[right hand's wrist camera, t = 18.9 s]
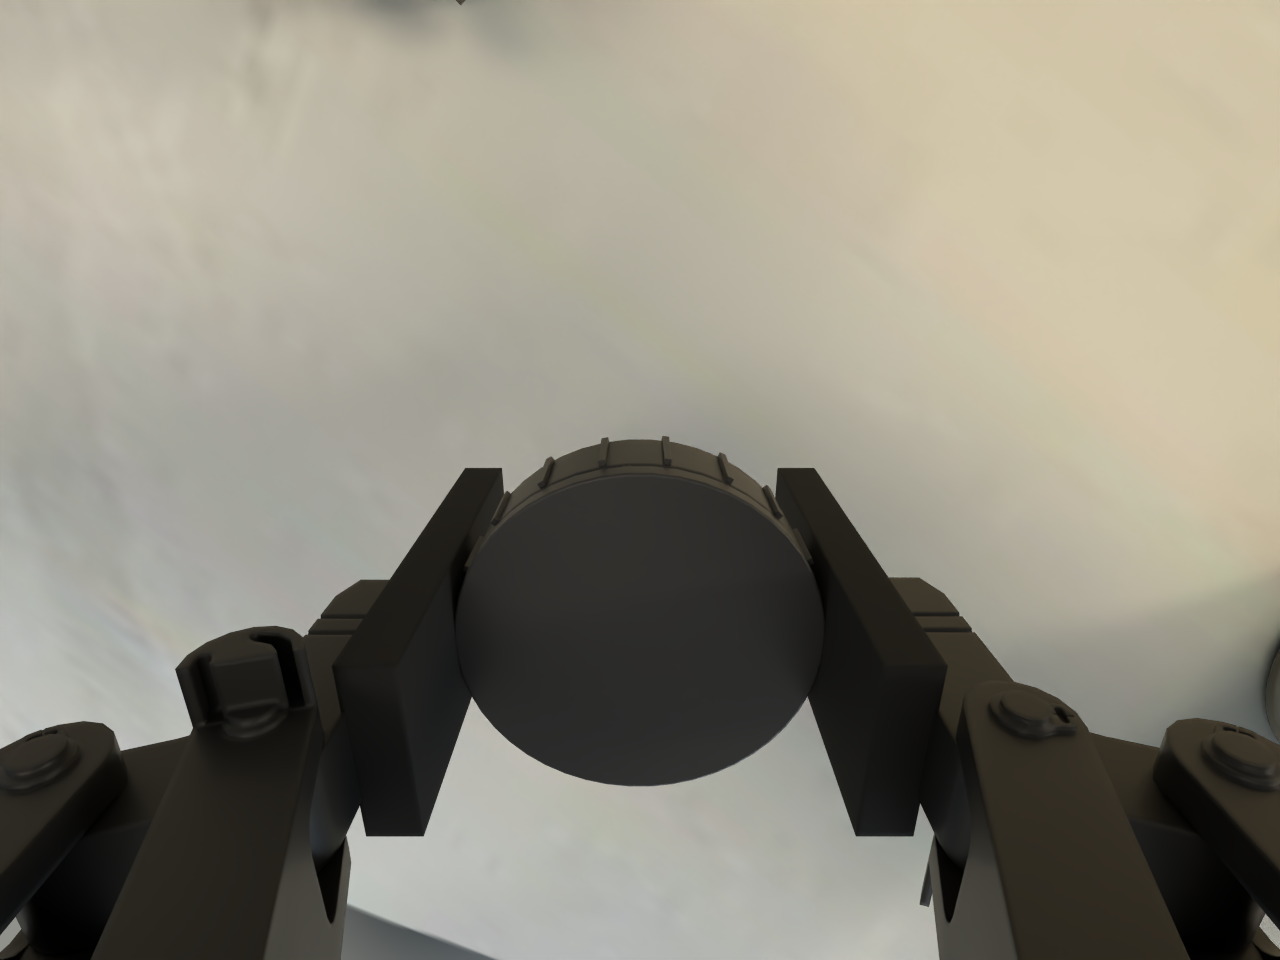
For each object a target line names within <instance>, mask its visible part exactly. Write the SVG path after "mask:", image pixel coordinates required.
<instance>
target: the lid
mask: <svg viewBox="0 0 1280 960" xmlns="http://www.w3.org/2000/svg"><path fill="white" fill-rule="evenodd" d="M812 564H814V562H813V560H812V557H811V555H810V553H809V551H808V549H807V547H806V545H805V543H804V541H803V539H802V537H801V535H800V533H799V531H798V529H797V528H796V529H794V530H792V528H791V526H790V524H789V523H788V521H787V519H786V517H785V515H784V513H783V512H782V510H781V509H780V508H779V506H778V504H777V501H776V499H775V497H774V495H773V493H772V491H771V489H770V488H769V487H768V486H767V485H766V486H765V487H763V488H762V487H761V486H760V485H759V484H758V483H757V482H756V481H755V480H754V479H752V478H751V477H750V476H748V475H747V474H746V473H744V472H743V471H742V470H740V469H739V468H738V467H736V466H734V465H732V464H730V463H729V462H728V461H727V458H726V455H724V454H722V453H719V455H718V456H715V455H713V454H710V453H707V452H705V451H702V450H700V449H697V448H694V447H690V446H686V445H682V444H678V443H674V442H669V437H666V436H662V441H658V440H622V441H614V442H609V439H608V437H607V438H602V440H601V444H597V445H594V446H590V447H586V448H582V449H579V450H577V451H574V452H572V453H569V454H567V455H564V456H562V457H560V458H558V459H556V460H554V459H553V458H552V457H549V458H548V459H546V461H545V464H544V467H542V468H541V469H539V470H538V471H537V472H535V473H534V474H533V475H531V476H530V477H529V478H527V479H526V480H525V481H523V482H522V483H521V484H520V485H519V486H518V487H517V488H516V489H515V490H514V491H513V492H512V493H509V492H508V491H506V492H505V494H504V495H503V497H502V499H501V501H500V503H499V505H498V507H497V509H496V511H495V514H494V516H493V518H492V520H491V522H490V525H489V527H488V529H487V531H486V533H485V535H484V537H483V536H479V537H478V539H477V541H476V543H475V545H474V547H473V549H472V552H471V554H470V556H469V558H468V560H467V562H466V564H465V566H464V568H463V572H466V575H465V578H464V581H463V583H462V586H461V589H460V592H459V595H458V600H457V606H456V611H455V637H456V645H457V654H458V661H459V665H460V669H461V673H462V676H463V678H464V681H465V683H466V685H467V687H468V690H469V692H470V694H471V696H472V697H473V699H474V700H475V702H476V704H477V705H478V707H479V708H480V710H481V712H482V713H483V714H484V715H485V716H486V718H487V719H488V720H489V721H490V723H491V724H492V725H493V726H494V727H495V728H496V729H497V730H498V731H499V732H500V733H501V734H502V735H503V736H504V737H505V738H506V739H507V740H509V741H510V742H511V743H512V744H514V745H515V746H516V747H518V748H519V749H520V750H522V751H523V752H525V753H526V754H527V755H529V756H531V757H533V758H534V759H536V760H538V761H540V762H541V763H543V764H545V765H547V766H549V767H552V768H554V769H556V770H559V771H561V772H563V773H566V774H569V775H572V776H575V777H579V778H582V779H585V780H590V781H595V782H599V783H604V784H612V785H622V786H658V785H668V784H675V783H680V782H685V781H690V780H694V779H698V778H701V777H704V776H707V775H710V774H714V773H716V772H718V771H721V770H723V769H725V768H728V767H730V766H732V765H735V764H736V763H738V762H740V761H742V760H743V759H745V758H747V757H749V756H750V755H752V754H754V753H755V752H756V751H758V750H759V749H760V748H762V747H763V746H764V745H766V744H767V743H769V742H770V741H771V740H772V739H773V738H774V737H775V736H776V735H777V734H778V733H779V732H781V731H782V730H783V729H784V728H785V727H786V725H787V724H788V723H789V722H790V721H791V719H792V718H793V717H794V716H795V715H796V713H797V712H798V711H799V709H800V708H801V706H802V704H803V703H804V701H805V700H806V698H807V696H808V695H809V693H810V690H811V688H812V686H813V684H814V681H815V679H816V677H817V674H818V671H819V667H820V663H821V658H822V650H823V641H824V632H825V614H824V609H823V603H822V598H821V593H820V590H819V588H818V585H817V582H816V580H815V577H814V574H813V572H812V570H811V567H810V565H812Z"/></svg>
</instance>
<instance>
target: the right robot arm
mask: <svg viewBox="0 0 1280 960" xmlns="http://www.w3.org/2000/svg"><path fill="white" fill-rule="evenodd" d="M503 495H504V489H503V476H502V468H465V469H464V471H463V472H462V474H461V475H460V477H459V478H458V480H457V481H456V483H455V484H454V486H453V487H452V489H451V490H450V491H449V493H448V494H447V496H446V497H445V499H444V500H443V502H442V503H441V505H440V506H439V508H438V509H437V511H436V512H435V514H434V515H433V517H432V518H431V520H430V521H429V523H428V524H427V525H426V527H425V528H424V530H423V531H422V533H421V534H420V536H419V537H418V539H417V540H416V542H415V543H414V545H413V546H412V548H411V549H410V551H409V552H408V554H407V555H406V556H405V558H404V559H403V561H402V562H401V564H400V565H399V567H398V568H397V570H396V571H395V573H394V574H393V576H392V577H391V579H390V580H360V581H358V582H357V583H355V584H354V585H352V586H351V587H349V588H348V589H346V590H344V591H343V592H341V593H340V594H338V595H337V596H335V598H334V599H333V600H332V602H331V603H330V604H329V605H328V607H327V608H326V609H325V610H324V612H323V613H322V614H321V619H317V621H316V622H315V623H314V624H313V626H312V627H311V628H310V629H309V631H308V632H309V633H308V635H305V636H304V637H302V636H301V635H299V634H298V633H297V632H295V631H294V630H293V629H288V628H283V627H278V626H266V627H252V628H248V629H244V630H240V631H235V632H231V633H228V634H226V635H223V636H221V637H219V638H216V639H214V640H211V641H209V642H207V643H205V644H204V645H202V646H201V647H199V648H197V649H196V650H194V651H193V652H191V653H190V654H188V655H187V656H186V657H185V658H184V660H183V661H182V662H181V663H180V664H179V665H178V667H177V668H176V669H175V670H176V674H177V677H178V680H179V683H180V687H181V690H182V693H183V696H184V700H185V703H186V706H187V709H188V713H189V716H190V719H191V722H192V726H193V730H192V732H191V734H190V735H189V736H186V737H182V738H179V739H174V740H170V741H165V742H160V743H156V744H151V745H146V746H142V747H137V748H132V749H128V750H123V751H120V748H119V745H118V742H117V740H116V737H115V734H114V731H112V730H111V729H110V728H108V727H107V726H106V725H104V724H103V723H94V722H86V721H82V722H75V723H68V724H62V725H57V726H53V727H49V728H45V730H39V731H37V732H34V733H31V734H29V735H27V736H25V737H23V738H21V739H19V740H17V741H15V742H13V743H11V744H9V745H7V746H5V747H3V748H1V749H0V935H1V934H2V932H3V931H4V930H5V929H6V928H7V926H8V925H9V924H10V923H11V922H12V920H13V919H14V918H15V917H16V918H17V920H18V923H19V925H20V927H21V930H20V932H19V933H18V934H17V935H16V937H15V938H14V939H13V940H12V941H11V943H10V944H9V945H8V946H7V947H6V948H4V949H3V950H2V951H1V952H0V960H341V951H342V942H343V933H344V923H345V914H346V905H347V896H348V887H349V878H350V869H351V858H350V852H349V846H348V841H347V837H346V834H347V831H348V829H349V827H350V825H351V823H352V821H353V819H354V817H355V814H356V812H357V810H358V808H359V806H360V808H361V813H362V818H363V823H364V828H365V832H366V836H424V834H425V831H426V828H427V825H428V822H429V819H430V816H431V813H432V810H433V808H434V805H435V802H436V799H437V796H438V793H439V790H440V787H441V784H442V781H443V779H444V776H445V773H446V770H447V767H448V764H449V761H450V758H451V755H452V753H453V750H454V747H455V744H456V741H457V738H458V735H459V732H460V729H461V726H462V724H463V721H464V718H465V715H466V712H467V709H468V706H469V703H470V700H471V697H472V696H471V694H470V692H469V690H468V687H467V685H466V683H465V681H464V678H463V676H462V673H461V669H460V665H459V661H458V654H457V645H456V637H455V611H456V606H457V600H458V595H459V592H460V589H461V586H462V583H463V581H464V578H465V575H466V572H463V568H464V566H465V564H466V562H467V560H468V558H469V556H470V554H471V552H472V549H473V547H474V545H475V543H476V541H477V539H478V537H479V536H483V537H484V535H485V533H486V531H487V529H488V527H489V525H490V522H491V520H492V518H493V516H494V514H495V511H496V509H497V507H498V505H499V503H500V501H501V499H502V497H503ZM775 499H776V501H777V504H778V506H779V508H780V509H781V510H782V512H783V513H784V515H785V517H786V519H787V521H788V523H789V524H790V526H791V528H792V530H794V529H796V528H797V529H798V531H799V533H800V535H801V537H802V539H803V541H804V543H805V545H806V547H807V549H808V551H809V553H810V555H811V557H812V560H813V562H814V564H812V565H810V567H811V570H812V572H813V574H814V577H815V580H816V582H817V585H818V588H819V590H820V593H821V598H822V603H823V609H824V614H825V632H824V641H823V650H822V658H821V663H820V667H819V671H818V674H817V677H816V679H815V681H814V684H813V686H812V688H811V690H810V693H809V695H808V699H809V702H810V704H811V707H812V710H813V713H814V716H815V719H816V722H817V725H818V728H819V731H820V733H821V736H822V739H823V742H824V745H825V748H826V751H827V754H828V757H829V760H830V762H831V765H832V768H833V771H834V774H835V777H836V780H837V783H838V786H839V788H840V791H841V794H842V797H843V800H844V803H845V806H846V809H847V812H848V815H849V817H850V820H851V823H852V826H853V829H854V832H855V835H856V836H913V835H914V830H915V825H916V820H917V816H918V811H919V806H920V803H921V806H922V808H923V810H924V812H925V814H926V816H927V818H928V820H929V822H930V825H931V827H932V829H933V831H934V837H933V841H932V846H931V850H930V855H929V860H928V864H927V869H926V873H925V878H924V883H923V887H922V893H921V899H920V905H923V906H927V907H929V904H930V900H931V896H932V894H933V903H934V912H935V922H936V931H937V940H938V949H939V958H940V960H1280V949H1279V948H1278V947H1277V946H1276V945H1275V944H1274V943H1273V942H1272V941H1271V940H1270V939H1269V938H1268V937H1267V935H1266V934H1265V933H1264V932H1263V930H1262V929H1261V928H1260V927H1259V925H1260V923H1261V921H1262V919H1263V917H1264V915H1265V913H1266V914H1267V916H1268V917H1269V918H1270V919H1271V920H1272V922H1273V923H1274V924H1275V925H1276V926H1277V928H1278V929H1279V930H1280V745H1278V744H1276V743H1274V742H1272V741H1270V740H1268V739H1266V738H1264V737H1262V736H1260V735H1258V734H1256V733H1255V732H1253V731H1250V730H1247V729H1245V728H1242V727H1236V725H1232V724H1228V723H1224V722H1220V721H1213V720H1206V719H1199V718H1194V719H1185V720H1178V721H1176V722H1175V723H1173V724H1172V725H1171V726H1169V727H1168V728H1167V730H1166V732H1165V735H1164V738H1163V741H1162V743H1161V746H1160V748H1157V747H1152V746H1147V745H1143V744H1138V743H1133V742H1129V741H1124V740H1119V739H1115V738H1110V737H1105V736H1101V735H1098V734H1094V733H1090V732H1089V731H1088V728H1087V727H1086V725H1085V724H1084V722H1083V721H1082V720H1081V718H1080V717H1079V716H1078V714H1077V713H1076V712H1075V711H1074V710H1073V709H1071V708H1070V707H1069V706H1067V705H1066V704H1065V703H1063V702H1062V701H1061V700H1059V699H1058V698H1056V697H1054V696H1052V695H1050V694H1048V693H1046V692H1044V691H1042V690H1039V689H1037V688H1035V687H1031V686H1028V685H1024V684H1020V683H1016V682H1014V681H1013V680H1012V679H1011V677H1010V676H1009V675H1008V674H1007V672H1006V671H1005V670H1004V669H1003V667H1002V666H1001V665H1000V664H999V662H998V661H997V660H996V659H995V657H994V656H993V655H992V653H991V652H990V651H989V650H988V648H987V647H986V646H985V645H984V643H983V642H982V641H981V640H980V638H979V637H978V636H977V635H976V633H975V632H972V628H971V627H970V626H969V624H968V623H967V622H966V621H965V619H964V618H963V617H962V616H959V612H958V611H957V609H956V608H955V607H954V606H953V604H952V603H951V602H950V601H949V599H948V598H947V597H946V596H945V594H944V593H942V592H941V591H939V590H937V589H936V588H934V587H933V586H931V585H930V584H928V583H927V582H925V581H923V580H922V579H920V578H888V576H887V575H886V573H885V572H884V570H883V569H882V567H881V566H880V565H879V563H878V562H877V560H876V559H875V557H874V556H873V554H872V553H871V551H870V550H869V548H868V547H867V545H866V544H865V542H864V541H863V539H862V538H861V536H860V535H859V534H858V532H857V531H856V529H855V528H854V526H853V525H852V523H851V522H850V520H849V519H848V517H847V516H846V514H845V513H844V511H843V510H842V508H841V507H840V505H839V504H838V502H837V501H836V500H835V498H834V497H833V495H832V494H831V492H830V491H829V489H828V488H827V486H826V485H825V483H824V482H823V480H822V479H821V477H820V476H819V474H818V473H817V471H816V470H815V469H814V468H778V471H777V483H776V496H775ZM1266 711H1267V716H1268V720H1269V723H1270V726H1271V728H1272V731H1273V732H1274V734H1275V736H1276V738H1277V739H1278V741H1279V742H1280V649H1279V651H1278V653H1277V655H1276V657H1275V659H1274V662H1273V664H1272V667H1271V670H1270V673H1269V677H1268V682H1267V687H1266Z"/></svg>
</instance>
